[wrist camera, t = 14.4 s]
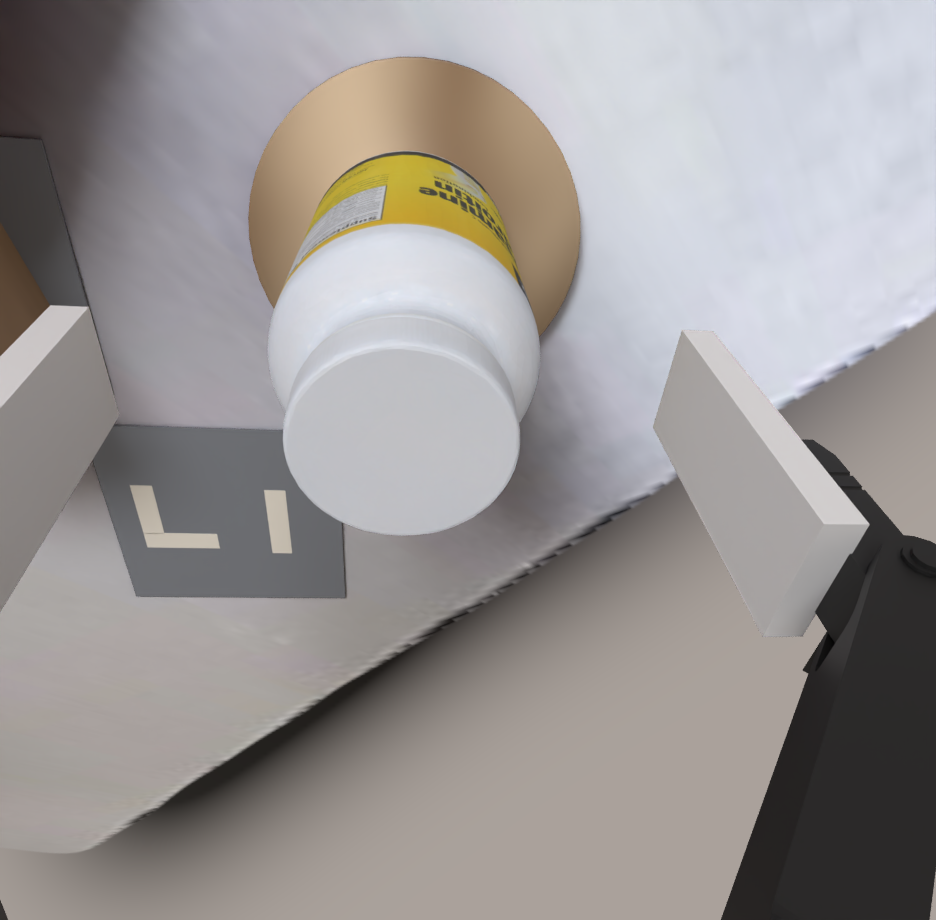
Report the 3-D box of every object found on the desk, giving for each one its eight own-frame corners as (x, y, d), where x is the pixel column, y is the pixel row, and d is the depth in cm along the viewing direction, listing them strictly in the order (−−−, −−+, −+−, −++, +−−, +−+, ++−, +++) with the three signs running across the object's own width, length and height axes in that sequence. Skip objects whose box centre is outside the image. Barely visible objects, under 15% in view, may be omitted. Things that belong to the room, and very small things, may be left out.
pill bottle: (520, 314, 24) (586, 536, 15) (348, 353, 25) (307, 593, 15) (483, 119, 20) (542, 256, 11) (280, 171, 21) (170, 345, 11)
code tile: (137, 594, 32) (136, 596, 32) (82, 423, 26) (80, 425, 26) (345, 596, 33) (345, 598, 33) (337, 432, 27) (337, 433, 27)
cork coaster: (269, 376, 26) (266, 384, 25) (231, 40, 19) (226, 43, 19) (550, 387, 27) (553, 395, 26) (606, 72, 20) (610, 75, 20)
